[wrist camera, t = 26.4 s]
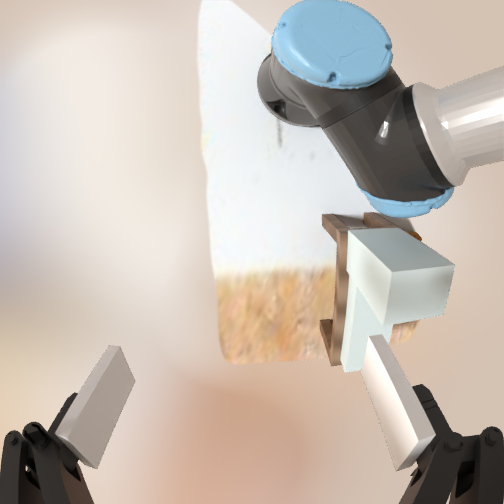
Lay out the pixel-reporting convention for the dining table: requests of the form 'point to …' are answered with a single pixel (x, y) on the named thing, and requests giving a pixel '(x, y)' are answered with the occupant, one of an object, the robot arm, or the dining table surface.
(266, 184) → the dining table surface
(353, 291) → the white stepped block
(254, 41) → the dining table surface
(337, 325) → the bench
